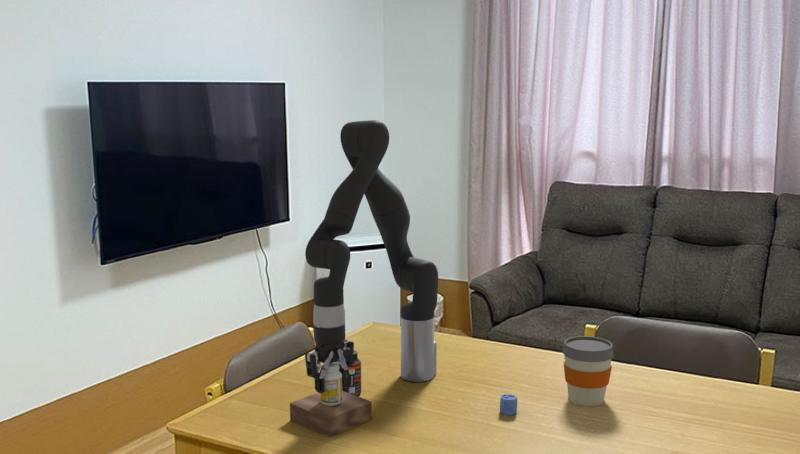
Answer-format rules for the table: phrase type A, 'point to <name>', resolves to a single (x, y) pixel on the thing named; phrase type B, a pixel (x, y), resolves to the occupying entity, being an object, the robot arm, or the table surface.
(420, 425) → the table surface
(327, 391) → the supplement bottle
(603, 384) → the reusable coffee cup
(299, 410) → the walnut stand
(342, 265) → the robot arm
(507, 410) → the decorative dice
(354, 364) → the supplement bottle
